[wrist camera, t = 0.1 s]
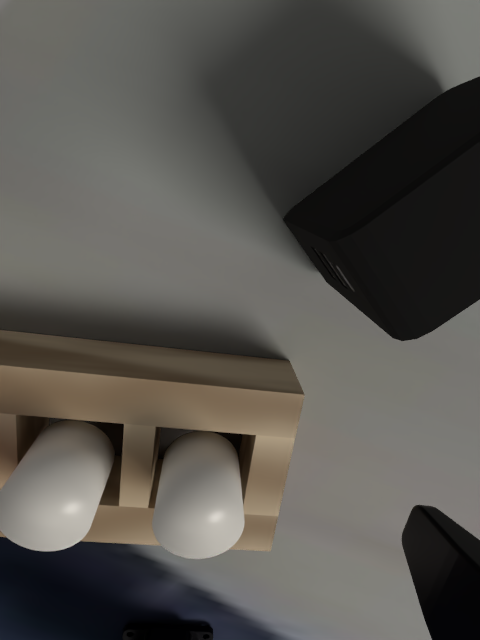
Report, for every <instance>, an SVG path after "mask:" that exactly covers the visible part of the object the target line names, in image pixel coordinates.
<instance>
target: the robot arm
mask: <svg viewBox="0 0 480 640" xmlns="http://www.w3.org/2000/svg"><path fill="white" fill-rule="evenodd" d="M402 545H403V549H404V553H405V556H406V559H407V563H408V566H409V569H410V573H411V576H412V579H413V583H414V586H415V589H416V593H417V596H418V599H419V603H420V606H421V609H422V612H423V616H424V619H425V622H426V624H427V627H428V630H429V633H430V635H431V638H432V640H480V540H479V539H477V538H476V537H475V536H473V535H472V534H471V533H469V532H468V531H466V530H465V529H464V528H462V527H461V526H460V525H458V524H457V523H456V522H454V521H453V520H452V519H450V518H449V517H448V516H446V515H445V514H444V513H442V512H441V511H440V510H438V509H437V508H435V507H432V506H425V505H416V506H414V507H413V509H412V511H411V513H410V516H409V518H408V520H407V523H406V525H405V528H404V530H403V533H402ZM123 640H213V629H212V628H211V627H209V626H186V625H155V624H128V625H126V626H125V627H124V632H123Z"/></svg>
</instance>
